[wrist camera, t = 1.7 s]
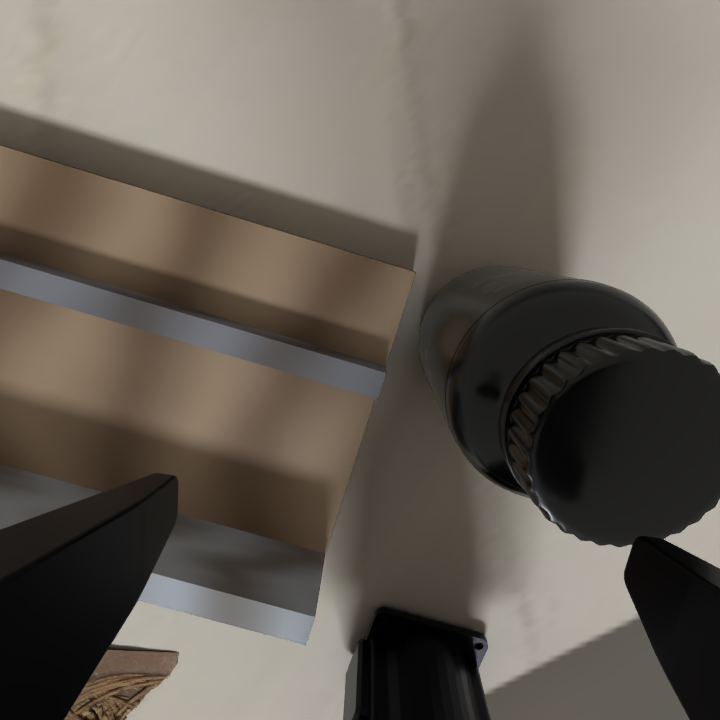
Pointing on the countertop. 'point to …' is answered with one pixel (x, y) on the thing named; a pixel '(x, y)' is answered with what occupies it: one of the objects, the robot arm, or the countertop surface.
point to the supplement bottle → (575, 402)
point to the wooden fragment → (121, 683)
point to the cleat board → (187, 380)
